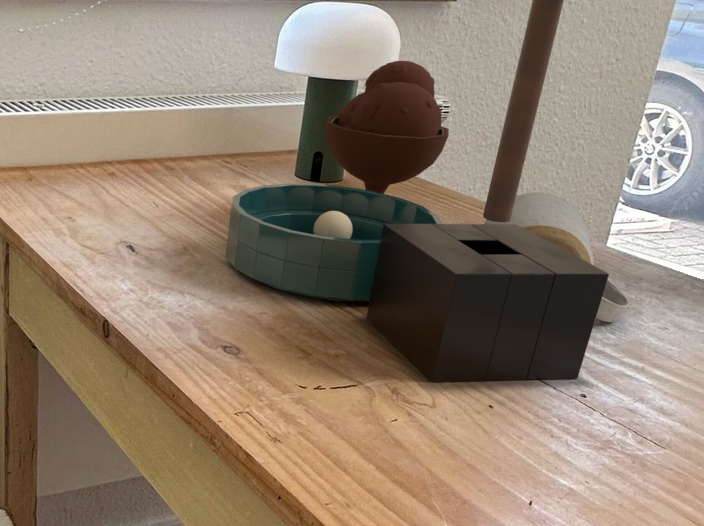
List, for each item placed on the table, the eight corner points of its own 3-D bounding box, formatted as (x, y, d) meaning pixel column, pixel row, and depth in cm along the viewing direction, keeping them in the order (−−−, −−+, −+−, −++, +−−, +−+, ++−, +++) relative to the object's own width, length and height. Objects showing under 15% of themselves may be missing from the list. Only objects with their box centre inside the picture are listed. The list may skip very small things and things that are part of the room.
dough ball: (340, 242, 76) (346, 206, 75) (355, 254, 73) (361, 217, 72) (305, 242, 76) (310, 206, 75) (318, 254, 73) (324, 217, 72)
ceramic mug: (470, 312, 64) (497, 210, 61) (469, 276, 71) (493, 184, 68) (632, 341, 61) (669, 235, 58) (613, 301, 68) (645, 205, 65)
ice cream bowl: (301, 206, 88) (323, 51, 82) (412, 213, 88) (443, 58, 82) (320, 239, 79) (348, 66, 73) (445, 246, 79) (483, 73, 72)
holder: (493, 316, 64) (516, 224, 61) (578, 378, 55) (610, 273, 52) (365, 318, 62) (383, 223, 59) (431, 382, 53) (456, 274, 51)
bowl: (377, 238, 80) (387, 184, 78) (468, 306, 65) (484, 242, 63) (204, 238, 78) (209, 182, 75) (259, 308, 63) (268, 242, 61)
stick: (501, 214, 56) (576, -102, 48) (515, 222, 54) (595, -103, 47) (477, 215, 55) (550, -104, 48) (491, 222, 54) (568, -105, 47)
